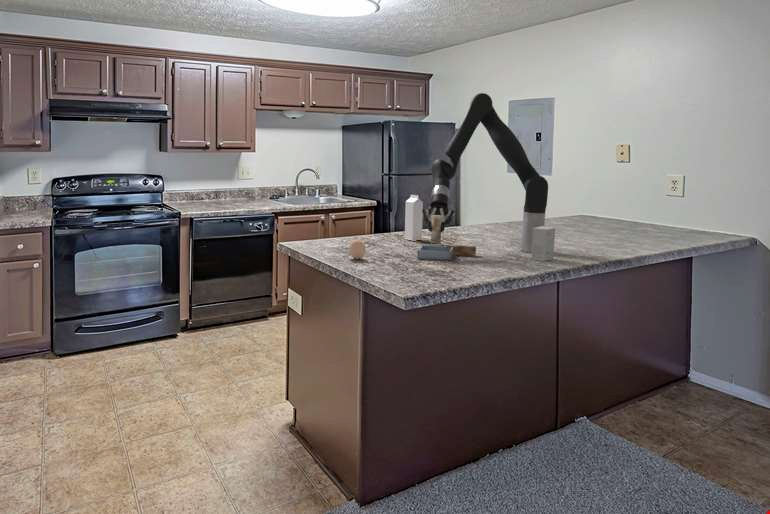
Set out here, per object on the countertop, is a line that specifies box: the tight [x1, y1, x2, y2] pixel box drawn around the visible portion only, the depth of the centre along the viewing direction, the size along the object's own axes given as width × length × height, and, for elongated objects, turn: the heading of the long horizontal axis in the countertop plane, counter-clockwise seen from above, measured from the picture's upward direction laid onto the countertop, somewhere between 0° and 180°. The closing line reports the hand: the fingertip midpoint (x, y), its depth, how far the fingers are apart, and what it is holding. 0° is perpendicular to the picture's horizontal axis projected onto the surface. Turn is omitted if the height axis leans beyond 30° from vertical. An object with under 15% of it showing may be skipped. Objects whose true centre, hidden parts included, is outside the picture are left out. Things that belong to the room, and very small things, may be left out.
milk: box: [404, 194, 424, 241], centre depth 273 cm, size 6×6×22 cm
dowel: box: [430, 215, 442, 244], centre depth 231 cm, size 4×4×11 cm
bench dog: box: [446, 244, 477, 257], centre depth 238 cm, size 12×3×4 cm, turn 79°
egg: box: [348, 239, 367, 260], centre depth 225 cm, size 7×7×8 cm
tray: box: [417, 244, 454, 262], centre depth 233 cm, size 13×13×4 cm
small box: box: [530, 225, 556, 262], centre depth 231 cm, size 8×6×13 cm
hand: (435, 230), depth 230 cm, fingers closed on dowel, 4 cm apart
